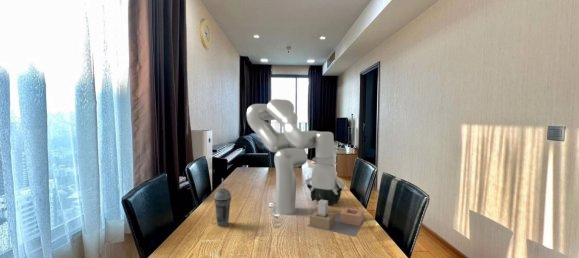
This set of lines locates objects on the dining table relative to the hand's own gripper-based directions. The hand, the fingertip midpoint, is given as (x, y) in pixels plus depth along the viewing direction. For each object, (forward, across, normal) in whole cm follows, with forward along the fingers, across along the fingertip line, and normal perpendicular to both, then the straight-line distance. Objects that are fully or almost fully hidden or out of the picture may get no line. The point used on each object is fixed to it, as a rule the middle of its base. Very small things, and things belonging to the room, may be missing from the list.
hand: (324, 201), depth 114 cm
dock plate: (+12, +4, +5) cm, 13 cm away
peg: (+10, -1, 0) cm, 10 cm away
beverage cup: (+11, -40, -18) cm, 45 cm away
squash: (+11, -10, +32) cm, 36 cm away
